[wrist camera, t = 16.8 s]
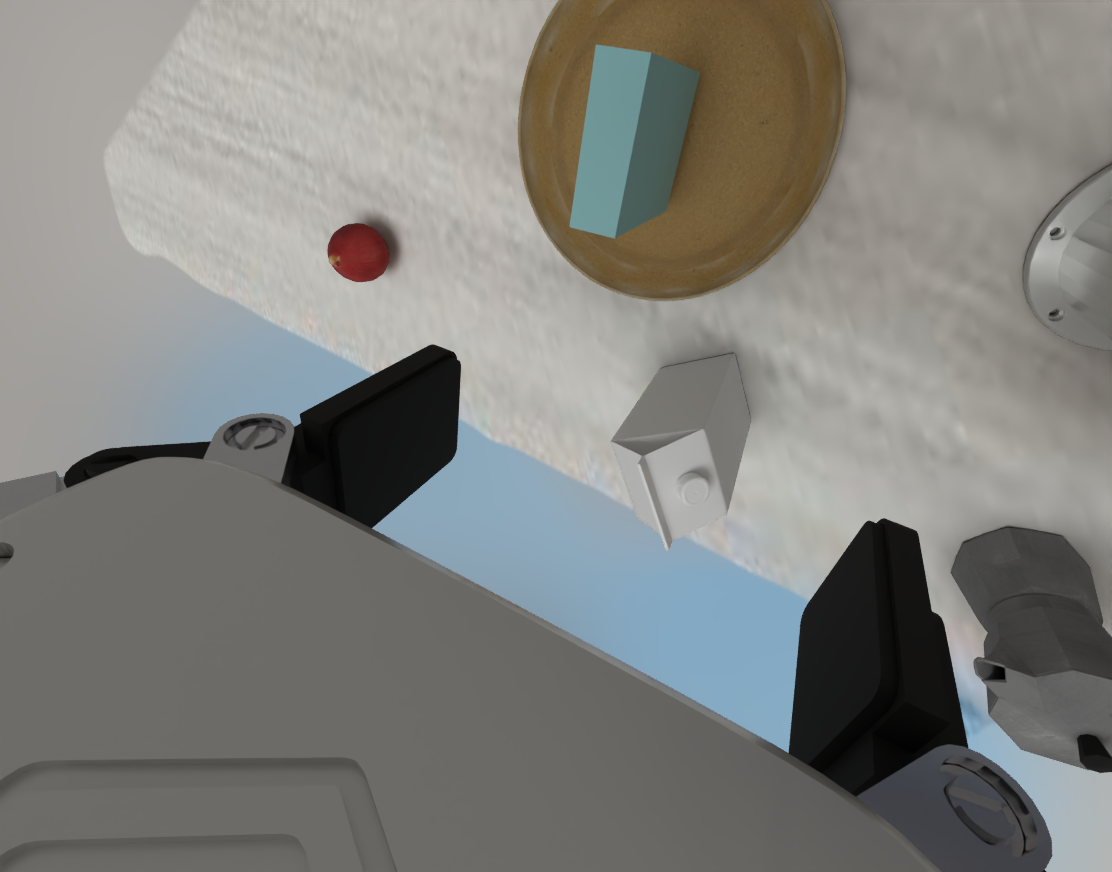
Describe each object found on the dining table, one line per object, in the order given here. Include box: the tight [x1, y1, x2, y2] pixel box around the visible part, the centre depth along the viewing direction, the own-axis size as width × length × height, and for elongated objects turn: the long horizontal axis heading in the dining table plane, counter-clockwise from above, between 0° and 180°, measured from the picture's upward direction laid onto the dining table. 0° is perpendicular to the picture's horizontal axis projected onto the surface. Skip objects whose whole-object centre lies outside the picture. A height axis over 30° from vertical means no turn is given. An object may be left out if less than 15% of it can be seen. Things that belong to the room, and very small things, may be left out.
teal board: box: [569, 45, 700, 238], centre depth 33 cm, size 3×9×12 cm, turn 171°
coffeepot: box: [951, 527, 1112, 773], centre depth 38 cm, size 15×9×18 cm, turn 72°
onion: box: [328, 223, 389, 282], centre depth 54 cm, size 6×6×8 cm
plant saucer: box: [518, 0, 846, 301], centre depth 39 cm, size 24×24×3 cm
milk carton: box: [611, 353, 751, 550], centre depth 42 cm, size 7×7×19 cm
